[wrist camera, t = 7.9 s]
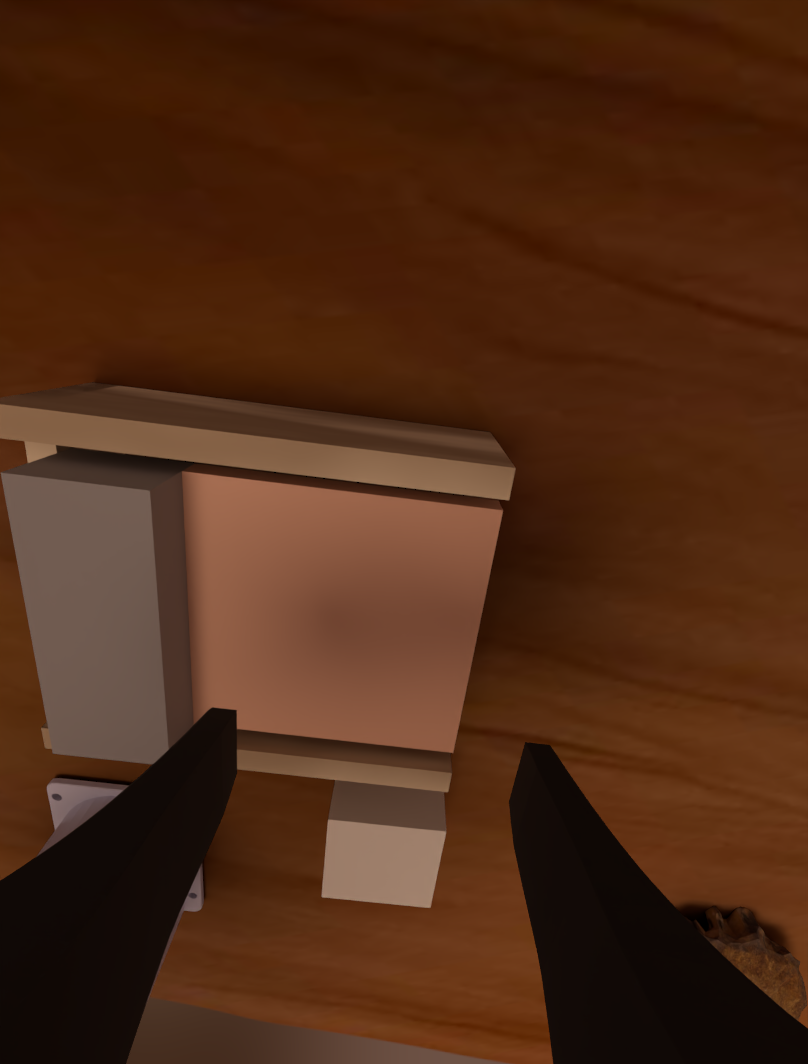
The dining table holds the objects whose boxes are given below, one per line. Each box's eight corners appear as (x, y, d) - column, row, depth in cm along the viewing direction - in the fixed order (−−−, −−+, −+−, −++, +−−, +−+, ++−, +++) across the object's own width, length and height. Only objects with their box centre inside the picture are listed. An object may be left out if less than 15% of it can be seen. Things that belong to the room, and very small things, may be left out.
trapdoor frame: (441, 696, 25) (448, 792, 20) (123, 660, 24) (44, 748, 19) (490, 432, 20) (515, 468, 15) (92, 382, 19) (-22, 401, 14)
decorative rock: (718, 1036, 36) (793, 892, 31) (757, 1119, 32) (851, 970, 27) (563, 1034, 35) (613, 886, 30) (584, 1119, 32) (647, 965, 26)
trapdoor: (451, 733, 20) (456, 797, 18) (103, 694, 20) (53, 753, 17) (498, 500, 17) (514, 534, 14) (71, 448, 16) (0, 472, 14)
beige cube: (427, 811, 28) (430, 907, 23) (337, 802, 28) (321, 897, 23) (440, 741, 26) (446, 832, 21) (343, 731, 26) (327, 819, 21)
